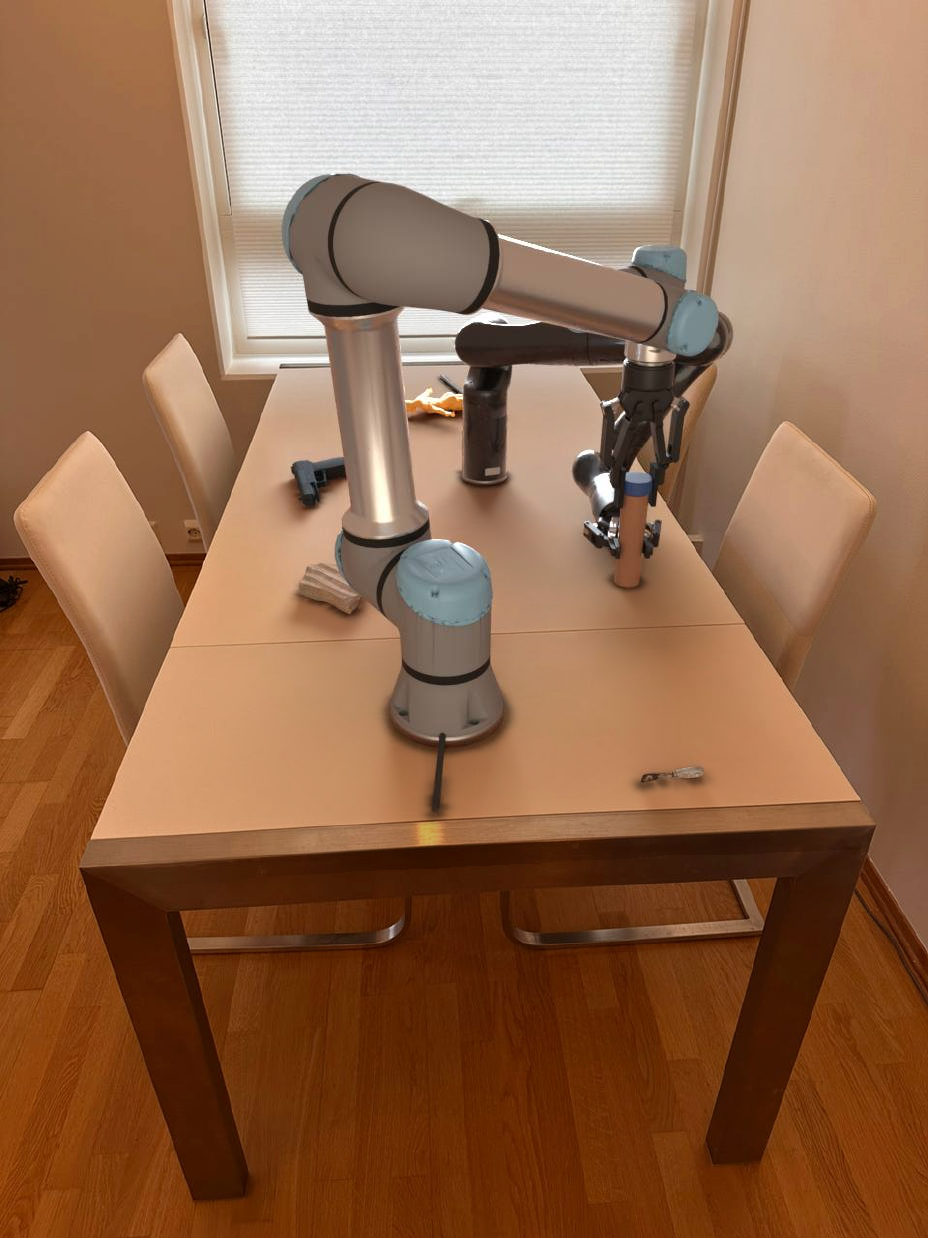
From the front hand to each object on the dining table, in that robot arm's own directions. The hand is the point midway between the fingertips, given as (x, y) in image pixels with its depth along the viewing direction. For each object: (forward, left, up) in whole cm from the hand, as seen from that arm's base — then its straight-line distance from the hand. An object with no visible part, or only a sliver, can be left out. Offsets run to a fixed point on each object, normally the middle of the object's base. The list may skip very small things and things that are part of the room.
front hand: (634, 503), depth 144 cm
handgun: (+27, +64, -14) cm, 71 cm away
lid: (0, 0, +4) cm, 4 cm away
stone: (-14, +47, -14) cm, 51 cm away
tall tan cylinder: (0, 0, -14) cm, 14 cm away
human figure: (+79, +49, -14) cm, 94 cm away
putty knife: (-49, -8, -14) cm, 52 cm away
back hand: (-3, -1, -8) cm, 8 cm away
